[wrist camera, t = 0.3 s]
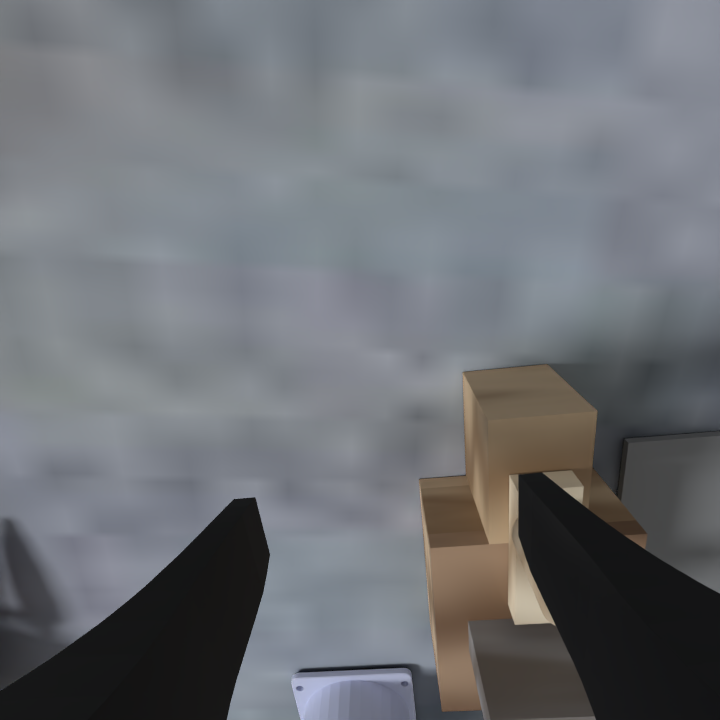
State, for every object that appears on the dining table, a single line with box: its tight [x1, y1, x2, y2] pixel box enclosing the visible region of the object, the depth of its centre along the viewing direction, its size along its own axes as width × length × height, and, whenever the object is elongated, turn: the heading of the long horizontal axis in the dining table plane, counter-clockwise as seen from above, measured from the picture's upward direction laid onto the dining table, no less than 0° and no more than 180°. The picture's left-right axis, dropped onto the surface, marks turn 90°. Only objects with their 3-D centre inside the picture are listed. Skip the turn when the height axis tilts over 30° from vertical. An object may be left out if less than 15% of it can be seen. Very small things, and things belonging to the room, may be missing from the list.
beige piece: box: [508, 470, 584, 626], centre depth 16 cm, size 7×3×4 cm, turn 6°
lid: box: [428, 520, 647, 720], centre depth 19 cm, size 11×9×6 cm
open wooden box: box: [419, 364, 636, 692], centre depth 21 cm, size 17×9×5 cm, turn 7°
